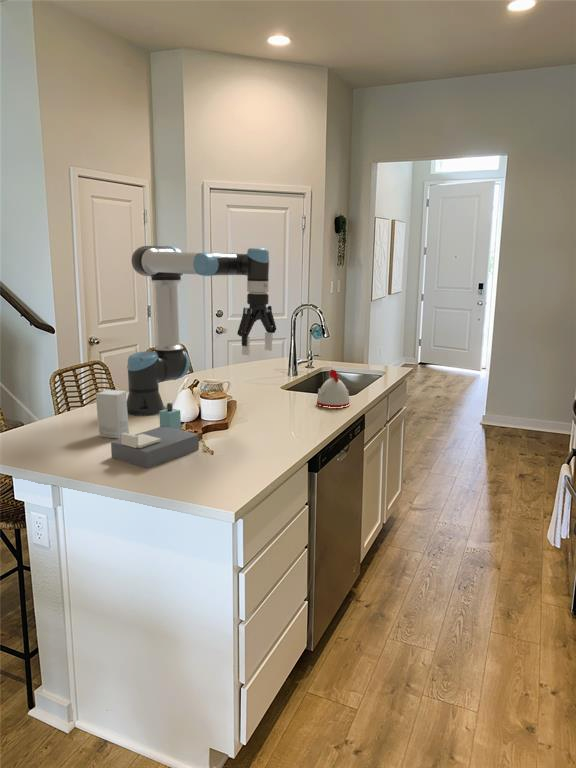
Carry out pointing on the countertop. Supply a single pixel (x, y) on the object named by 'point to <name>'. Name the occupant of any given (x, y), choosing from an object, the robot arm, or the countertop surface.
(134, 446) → the white l-shaped bracket
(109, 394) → the skincare box
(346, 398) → the white knitted dome
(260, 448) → the countertop surface
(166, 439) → the socket block
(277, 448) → the countertop surface
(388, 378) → the countertop surface
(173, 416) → the teal square bottle
